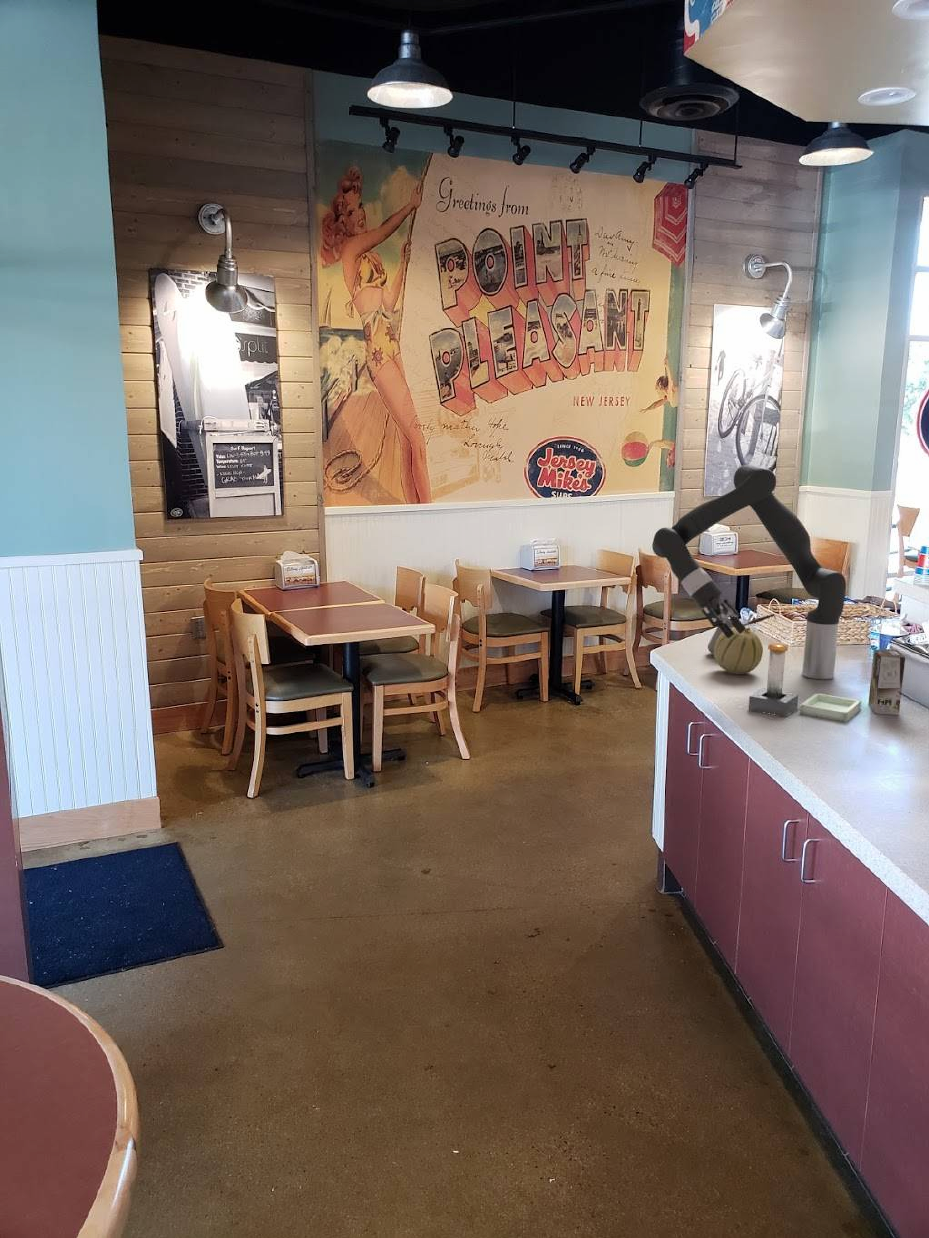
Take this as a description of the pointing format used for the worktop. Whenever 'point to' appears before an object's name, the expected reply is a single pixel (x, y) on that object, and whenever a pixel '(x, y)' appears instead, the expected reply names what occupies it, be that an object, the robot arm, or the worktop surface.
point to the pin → (776, 670)
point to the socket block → (773, 703)
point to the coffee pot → (719, 631)
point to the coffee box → (886, 681)
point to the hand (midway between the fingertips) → (737, 633)
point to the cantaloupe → (738, 651)
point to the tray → (830, 707)
